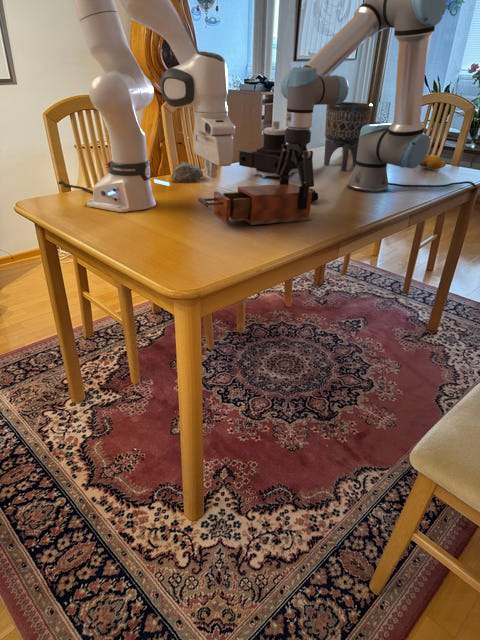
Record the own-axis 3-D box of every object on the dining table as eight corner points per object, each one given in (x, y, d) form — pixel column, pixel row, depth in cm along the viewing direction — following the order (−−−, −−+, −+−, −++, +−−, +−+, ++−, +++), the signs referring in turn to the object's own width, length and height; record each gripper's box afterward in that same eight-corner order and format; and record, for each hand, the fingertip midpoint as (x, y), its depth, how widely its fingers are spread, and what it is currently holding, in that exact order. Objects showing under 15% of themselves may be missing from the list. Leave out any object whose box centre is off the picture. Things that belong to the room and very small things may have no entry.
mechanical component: (240, 120, 182) (283, 115, 202) (239, 174, 192) (280, 164, 212) (283, 126, 170) (325, 120, 190) (280, 183, 180) (320, 171, 200)
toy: (420, 162, 205) (414, 155, 217) (422, 176, 207) (416, 168, 220) (446, 154, 201) (438, 147, 214) (448, 168, 204) (440, 161, 217)
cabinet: (251, 224, 133) (253, 195, 129) (236, 214, 141) (237, 186, 137) (308, 220, 141) (312, 192, 137) (291, 210, 149) (294, 183, 145)
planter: (313, 167, 208) (319, 103, 195) (331, 160, 222) (338, 101, 209) (353, 173, 199) (362, 107, 185) (369, 166, 213) (379, 104, 199)
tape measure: (298, 204, 156) (299, 193, 154) (293, 198, 161) (294, 187, 159) (317, 203, 156) (319, 192, 155) (312, 198, 162) (313, 187, 160)
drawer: (207, 224, 127) (207, 200, 124) (195, 215, 135) (195, 192, 132) (282, 218, 137) (284, 196, 134) (267, 209, 145) (269, 188, 141)
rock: (196, 175, 189) (195, 159, 185) (208, 179, 183) (208, 163, 180) (168, 180, 181) (167, 163, 178) (181, 184, 176) (180, 167, 172)
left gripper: (186, 119, 126) (188, 170, 133) (214, 128, 110) (215, 186, 117) (207, 118, 129) (208, 168, 136) (237, 127, 113) (237, 184, 120)
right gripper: (268, 123, 139) (264, 195, 150) (309, 134, 120) (301, 215, 131) (289, 122, 141) (284, 193, 152) (332, 133, 123) (323, 212, 134)
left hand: (211, 176), depth 126 cm, fingers closed
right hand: (292, 203), depth 142 cm, fingers closed on cabinet, 11 cm apart
